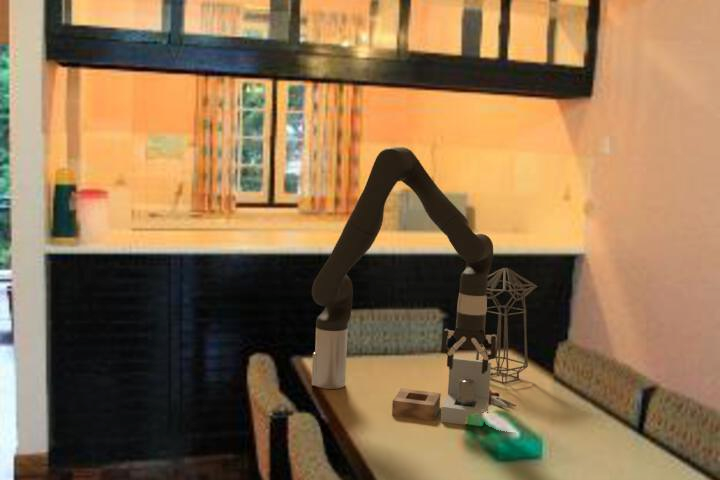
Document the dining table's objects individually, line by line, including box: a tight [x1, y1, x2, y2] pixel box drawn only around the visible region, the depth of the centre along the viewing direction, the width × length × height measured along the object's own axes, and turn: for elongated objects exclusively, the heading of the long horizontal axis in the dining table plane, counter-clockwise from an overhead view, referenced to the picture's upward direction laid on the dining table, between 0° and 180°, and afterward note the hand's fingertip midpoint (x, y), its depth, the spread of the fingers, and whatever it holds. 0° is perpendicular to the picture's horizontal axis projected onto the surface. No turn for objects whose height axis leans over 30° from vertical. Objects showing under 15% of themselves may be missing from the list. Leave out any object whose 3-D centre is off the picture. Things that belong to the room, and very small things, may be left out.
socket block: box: [391, 387, 441, 421], centre depth 207 cm, size 11×11×4 cm
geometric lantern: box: [475, 267, 538, 384], centre depth 239 cm, size 16×16×35 cm
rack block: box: [440, 357, 492, 426], centre depth 203 cm, size 11×12×14 cm
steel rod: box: [457, 379, 474, 407], centre depth 203 cm, size 4×4×10 cm
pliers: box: [489, 389, 517, 409], centre depth 219 cm, size 12×20×3 cm, turn 37°
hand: (467, 370), depth 202 cm, fingers open, 8 cm apart
